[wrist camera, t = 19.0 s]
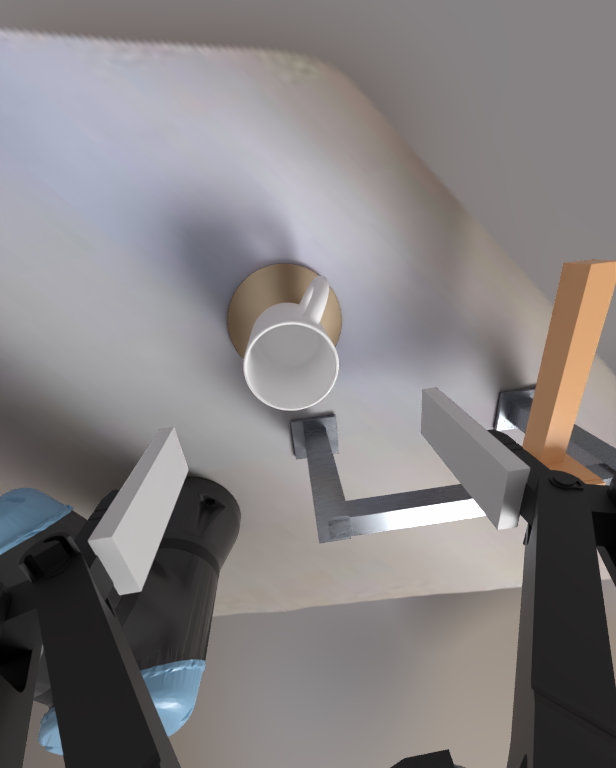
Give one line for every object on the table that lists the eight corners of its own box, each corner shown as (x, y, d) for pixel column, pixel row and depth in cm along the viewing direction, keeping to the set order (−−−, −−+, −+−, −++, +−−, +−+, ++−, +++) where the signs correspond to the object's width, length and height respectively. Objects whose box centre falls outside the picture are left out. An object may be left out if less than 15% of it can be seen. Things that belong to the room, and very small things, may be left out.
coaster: (240, 381, 38) (239, 383, 38) (217, 270, 33) (216, 271, 32) (343, 368, 39) (344, 369, 38) (337, 257, 34) (338, 257, 33)
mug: (283, 254, 32) (286, 257, 23) (351, 289, 35) (378, 306, 25) (240, 353, 36) (228, 390, 27) (303, 380, 38) (312, 423, 29)
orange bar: (502, 486, 34) (541, 527, 29) (548, 264, 25) (617, 269, 20) (546, 479, 34) (591, 519, 29) (607, 257, 25) (690, 260, 20)
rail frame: (295, 456, 44) (305, 556, 30) (290, 420, 41) (298, 510, 27) (533, 423, 45) (649, 503, 31) (541, 386, 43) (672, 454, 29)
